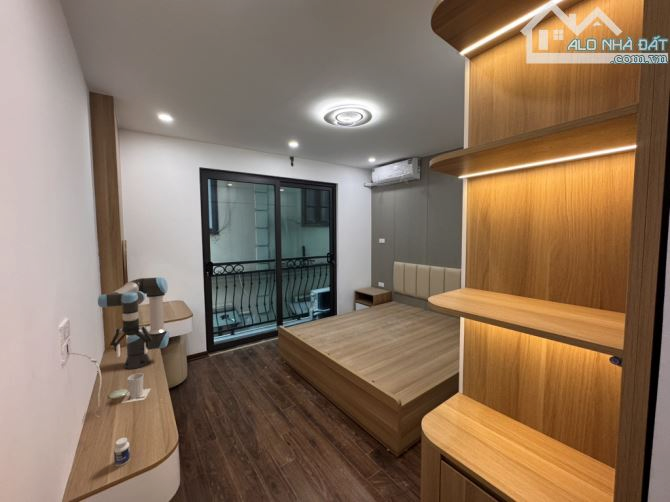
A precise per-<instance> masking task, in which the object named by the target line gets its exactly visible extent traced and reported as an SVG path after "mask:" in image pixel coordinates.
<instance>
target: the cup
mask: <svg viewBox="0 0 670 502" xmlns="http://www.w3.org/2000/svg"><path fill="white" fill-rule="evenodd" d="M144 376H145V375H144V373H143V372H138V373H134V374H133V373H132V374H130V375H129V376H128V377H127V385H128V390H129V391H128V392H130V398H138V397H140V396H142V395H143V389H144Z"/></svg>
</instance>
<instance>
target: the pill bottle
mask: <svg viewBox="0 0 670 502" xmlns="http://www.w3.org/2000/svg"><path fill="white" fill-rule="evenodd" d="M130 450H131V449H130V442H129V441H128V438H127V437H121V438H119V439H118V440H116V441H115V447H114V448H113V457H114V458H113V460H114V462H113V463H114V466H115V467H122V466H124V465H126V464H128V462H130V460H131V451H130Z"/></svg>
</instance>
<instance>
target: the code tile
mask: <svg viewBox="0 0 670 502" xmlns="http://www.w3.org/2000/svg"><path fill="white" fill-rule="evenodd" d="M151 389H152V388H145V389H144V388H143V395H142V396H140V397H138V398H130V391H128V392H127V394H125V395H124V396H125V397H124V398H123V399H122V401H121V403H120V404H124V403H126V404H127V403H130V402H131V403H132V402H137V401H144V400H146V399H147V397H148V395H149V393H150V391H151Z"/></svg>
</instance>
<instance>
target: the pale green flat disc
mask: <svg viewBox="0 0 670 502" xmlns="http://www.w3.org/2000/svg"><path fill="white" fill-rule="evenodd" d="M128 390H129V389H126V388H120V389H117V390H114V391H112V392H110V393H109V394H108V398H109V399H112V400H113V399H118V398H122V397H123V396H126V395H127V393H128V392H129V391H128Z"/></svg>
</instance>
